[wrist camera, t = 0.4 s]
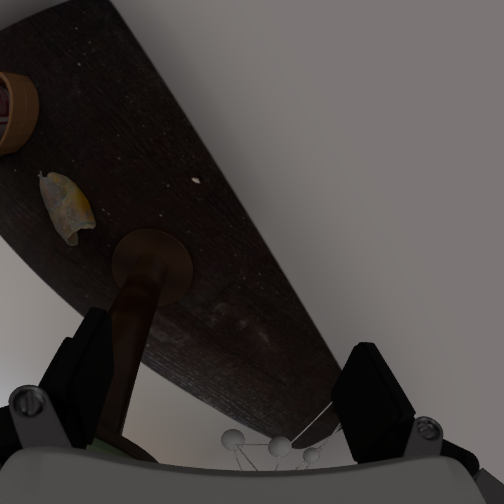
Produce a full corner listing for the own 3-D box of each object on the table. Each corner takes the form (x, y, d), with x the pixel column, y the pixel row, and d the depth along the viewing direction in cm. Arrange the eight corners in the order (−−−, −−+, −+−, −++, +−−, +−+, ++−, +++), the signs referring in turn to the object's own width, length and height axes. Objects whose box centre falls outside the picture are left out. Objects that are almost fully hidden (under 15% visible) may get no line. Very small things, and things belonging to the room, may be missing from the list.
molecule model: (204, 404, 44) (189, 488, 26) (359, 348, 43) (414, 414, 26) (238, 461, 46) (239, 540, 28) (375, 413, 45) (419, 481, 27)
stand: (116, 219, 30) (-26, 385, 8) (199, 233, 32) (167, 445, 10) (113, 294, 33) (29, 476, 11) (188, 307, 35) (166, 514, 13)
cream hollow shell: (40, 199, 29) (23, 187, 24) (68, 172, 30) (55, 157, 25) (77, 252, 29) (63, 247, 25) (107, 224, 30) (98, 214, 26)
